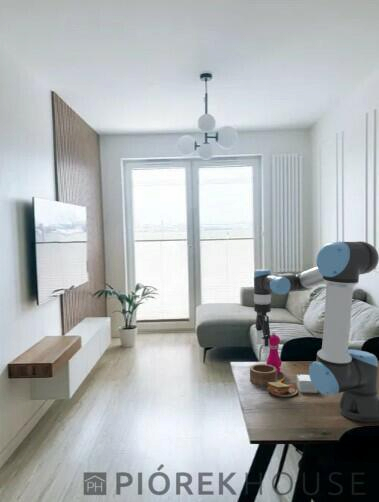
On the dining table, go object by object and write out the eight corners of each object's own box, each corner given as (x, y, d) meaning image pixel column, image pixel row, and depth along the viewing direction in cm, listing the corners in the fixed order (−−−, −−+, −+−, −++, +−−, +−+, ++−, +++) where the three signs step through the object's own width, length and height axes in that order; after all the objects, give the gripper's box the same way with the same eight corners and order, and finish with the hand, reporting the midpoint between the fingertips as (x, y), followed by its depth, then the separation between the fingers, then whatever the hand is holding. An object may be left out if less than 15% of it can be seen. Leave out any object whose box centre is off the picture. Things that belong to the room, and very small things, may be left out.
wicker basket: (279, 385, 167) (279, 372, 166) (253, 386, 166) (252, 373, 166) (273, 376, 179) (272, 363, 178) (248, 376, 178) (248, 364, 178)
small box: (318, 393, 158) (318, 381, 158) (299, 392, 159) (299, 380, 159) (314, 386, 166) (314, 374, 166) (296, 385, 167) (296, 374, 167)
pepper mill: (277, 375, 180) (277, 334, 179) (264, 372, 184) (263, 332, 183) (283, 371, 185) (283, 331, 185) (270, 368, 190) (269, 329, 189)
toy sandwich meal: (304, 395, 157) (304, 384, 157) (277, 400, 152) (277, 389, 152) (286, 384, 168) (286, 374, 168) (260, 389, 163) (260, 379, 163)
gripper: (277, 307, 159) (277, 356, 160) (264, 298, 184) (264, 340, 185) (260, 308, 159) (260, 357, 160) (249, 298, 184) (249, 340, 185)
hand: (262, 348), depth 172 cm, fingers open, 13 cm apart
